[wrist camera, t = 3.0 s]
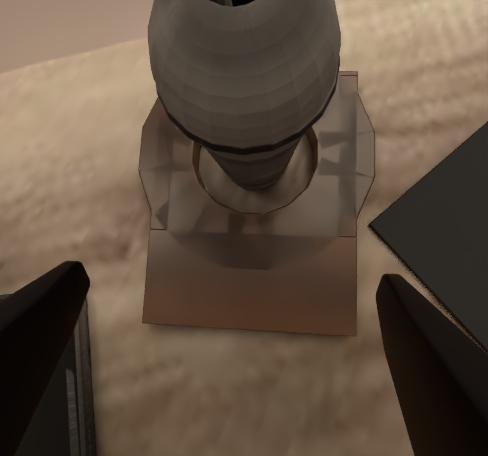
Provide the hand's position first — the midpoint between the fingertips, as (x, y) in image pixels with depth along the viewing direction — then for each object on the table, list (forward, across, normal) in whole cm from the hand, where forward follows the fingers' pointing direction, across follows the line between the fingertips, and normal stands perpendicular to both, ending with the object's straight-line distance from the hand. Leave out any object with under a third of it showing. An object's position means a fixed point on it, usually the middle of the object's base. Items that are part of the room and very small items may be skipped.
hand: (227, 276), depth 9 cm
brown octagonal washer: (+14, 0, +5) cm, 15 cm away
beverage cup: (+15, 0, +4) cm, 16 cm away
